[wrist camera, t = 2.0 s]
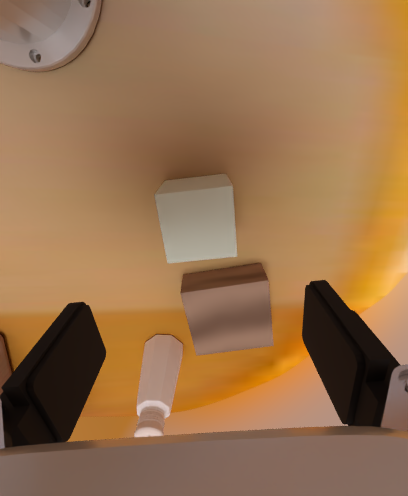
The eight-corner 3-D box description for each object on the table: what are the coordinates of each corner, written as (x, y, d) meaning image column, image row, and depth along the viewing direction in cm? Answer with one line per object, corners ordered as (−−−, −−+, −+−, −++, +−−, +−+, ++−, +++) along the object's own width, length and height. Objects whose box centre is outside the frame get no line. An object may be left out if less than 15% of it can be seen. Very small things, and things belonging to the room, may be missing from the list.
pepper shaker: (175, 328, 32) (163, 416, 22) (189, 357, 35) (184, 448, 25) (137, 338, 33) (109, 428, 23) (153, 366, 35) (134, 458, 25)
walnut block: (183, 273, 29) (180, 293, 26) (260, 261, 29) (268, 280, 25) (197, 330, 33) (196, 355, 29) (265, 321, 32) (273, 345, 29)
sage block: (164, 180, 24) (154, 194, 19) (226, 173, 24) (232, 185, 19) (174, 236, 27) (167, 263, 22) (230, 230, 27) (237, 256, 21)
